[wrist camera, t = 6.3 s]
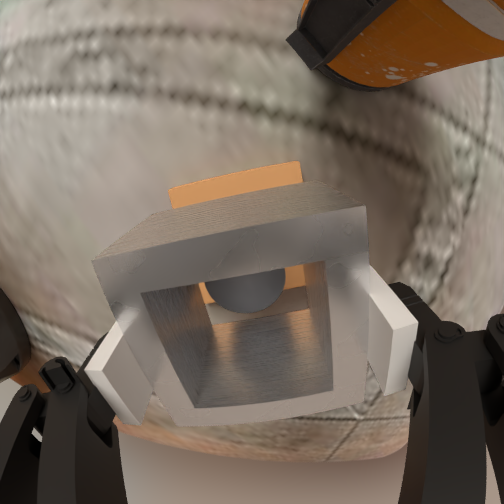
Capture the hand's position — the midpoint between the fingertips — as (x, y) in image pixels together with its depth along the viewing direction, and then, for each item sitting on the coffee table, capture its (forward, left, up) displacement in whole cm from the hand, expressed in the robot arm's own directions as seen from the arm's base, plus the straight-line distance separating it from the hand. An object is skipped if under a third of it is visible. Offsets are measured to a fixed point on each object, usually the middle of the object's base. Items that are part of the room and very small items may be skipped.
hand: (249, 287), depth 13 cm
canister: (+10, +13, -9) cm, 18 cm away
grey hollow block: (0, 0, -1) cm, 1 cm away
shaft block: (0, 0, -8) cm, 8 cm away
